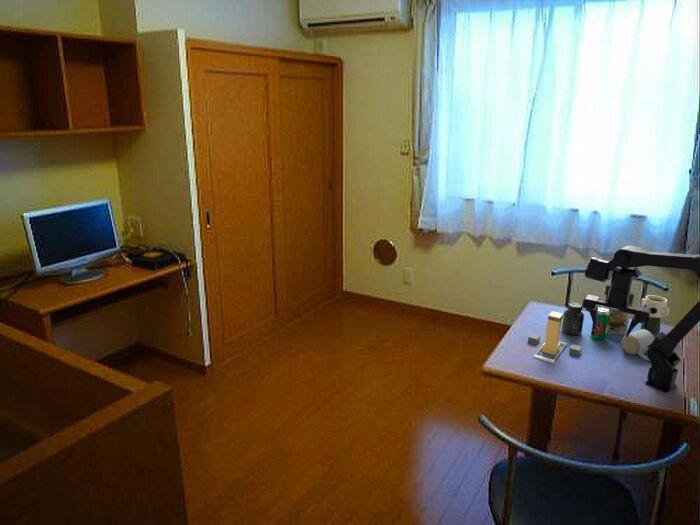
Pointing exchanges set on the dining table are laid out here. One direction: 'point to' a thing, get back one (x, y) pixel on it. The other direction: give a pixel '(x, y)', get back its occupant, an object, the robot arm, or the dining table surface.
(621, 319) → the coffee box
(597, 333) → the soda can
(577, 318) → the supplement bottle
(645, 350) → the ceramic mug
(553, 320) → the amber handle
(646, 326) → the character mug
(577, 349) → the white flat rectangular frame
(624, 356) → the dining table surface
